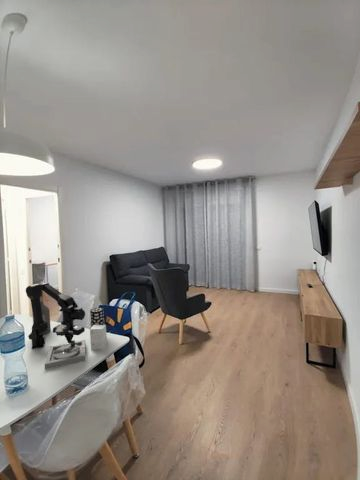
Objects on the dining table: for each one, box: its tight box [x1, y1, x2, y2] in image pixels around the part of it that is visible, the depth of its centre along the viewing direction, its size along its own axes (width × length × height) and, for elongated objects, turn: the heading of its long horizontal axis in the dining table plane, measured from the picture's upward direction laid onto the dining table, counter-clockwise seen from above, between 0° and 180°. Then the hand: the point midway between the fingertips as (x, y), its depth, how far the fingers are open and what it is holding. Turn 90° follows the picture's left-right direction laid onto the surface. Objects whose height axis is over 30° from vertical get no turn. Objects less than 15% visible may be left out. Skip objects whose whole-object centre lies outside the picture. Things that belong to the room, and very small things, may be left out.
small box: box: [89, 324, 108, 351], centre depth 149 cm, size 8×6×13 cm
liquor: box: [32, 291, 52, 335], centre depth 171 cm, size 9×9×30 cm
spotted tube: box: [89, 307, 105, 328], centre depth 159 cm, size 8×8×20 cm
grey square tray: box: [44, 339, 87, 370], centre depth 140 cm, size 20×20×3 cm
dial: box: [53, 339, 80, 360], centre depth 140 cm, size 14×14×4 cm
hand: (69, 343), depth 146 cm, fingers closed
